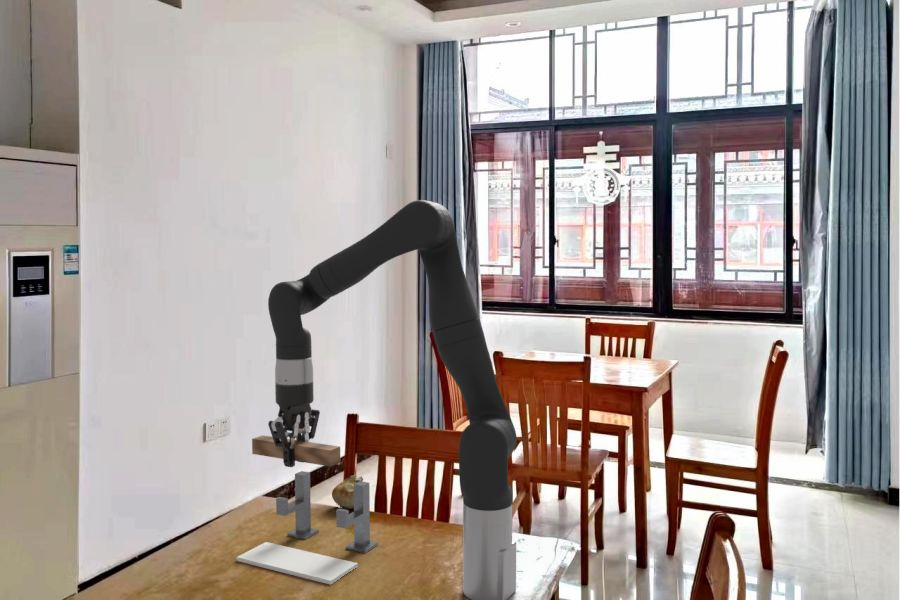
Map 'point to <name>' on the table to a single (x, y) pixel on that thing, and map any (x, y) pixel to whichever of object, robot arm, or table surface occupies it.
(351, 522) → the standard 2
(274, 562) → the mat
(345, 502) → the onion
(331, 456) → the rail
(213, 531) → the table surface
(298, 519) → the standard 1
